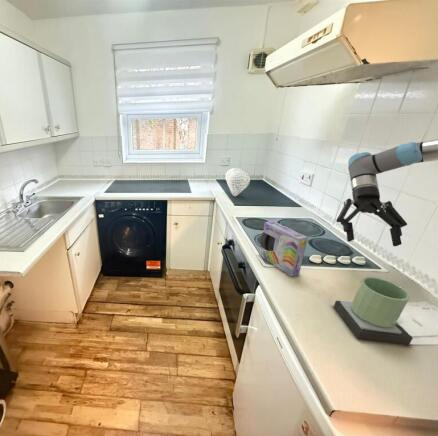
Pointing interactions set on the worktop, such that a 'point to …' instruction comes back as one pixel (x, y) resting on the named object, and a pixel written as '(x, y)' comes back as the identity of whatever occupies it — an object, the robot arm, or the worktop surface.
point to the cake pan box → (283, 247)
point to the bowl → (379, 301)
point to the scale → (371, 327)
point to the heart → (237, 181)
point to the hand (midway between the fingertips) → (373, 242)
